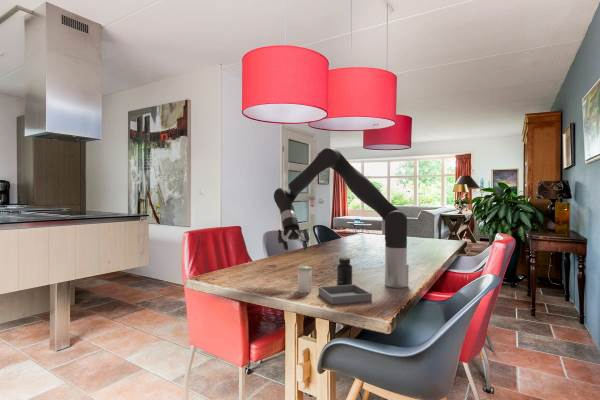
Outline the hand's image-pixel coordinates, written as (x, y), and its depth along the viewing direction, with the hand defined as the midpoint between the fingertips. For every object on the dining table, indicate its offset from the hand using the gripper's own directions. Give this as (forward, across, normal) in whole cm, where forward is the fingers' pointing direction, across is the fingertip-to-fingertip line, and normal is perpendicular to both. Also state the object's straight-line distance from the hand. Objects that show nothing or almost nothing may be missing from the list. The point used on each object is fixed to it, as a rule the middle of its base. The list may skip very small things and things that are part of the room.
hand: (296, 249), depth 153 cm
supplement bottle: (+16, +20, +6) cm, 27 cm away
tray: (+28, +12, -7) cm, 32 cm away
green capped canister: (+19, 0, +3) cm, 19 cm away
